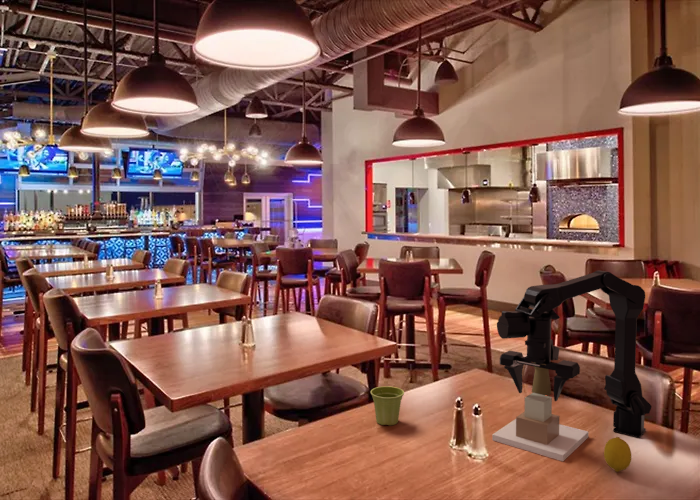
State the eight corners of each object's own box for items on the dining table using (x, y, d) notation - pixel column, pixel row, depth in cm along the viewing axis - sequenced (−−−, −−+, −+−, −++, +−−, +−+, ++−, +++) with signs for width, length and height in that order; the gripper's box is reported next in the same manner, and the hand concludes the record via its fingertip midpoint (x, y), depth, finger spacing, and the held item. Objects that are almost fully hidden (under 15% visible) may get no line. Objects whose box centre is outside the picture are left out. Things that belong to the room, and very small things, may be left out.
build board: (588, 437, 138) (588, 412, 138) (562, 461, 125) (563, 434, 124) (522, 419, 150) (522, 397, 150) (492, 440, 137) (492, 415, 136)
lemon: (628, 467, 121) (629, 433, 121) (632, 479, 116) (633, 443, 116) (602, 464, 123) (602, 430, 123) (605, 475, 118) (606, 440, 117)
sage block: (551, 416, 136) (551, 396, 135) (543, 421, 132) (544, 402, 132) (532, 411, 139) (532, 392, 139) (524, 416, 135) (524, 397, 135)
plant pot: (411, 422, 149) (411, 392, 148) (385, 431, 143) (385, 399, 142) (389, 413, 156) (388, 384, 155) (364, 420, 150) (363, 390, 150)
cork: (554, 395, 170) (554, 362, 169) (535, 395, 170) (535, 362, 169) (547, 389, 176) (548, 356, 175) (529, 389, 176) (529, 357, 175)
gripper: (588, 336, 134) (586, 396, 135) (517, 326, 146) (516, 381, 147) (572, 344, 126) (570, 408, 127) (499, 333, 138) (498, 391, 139)
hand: (537, 396), depth 135 cm, fingers open, 9 cm apart
